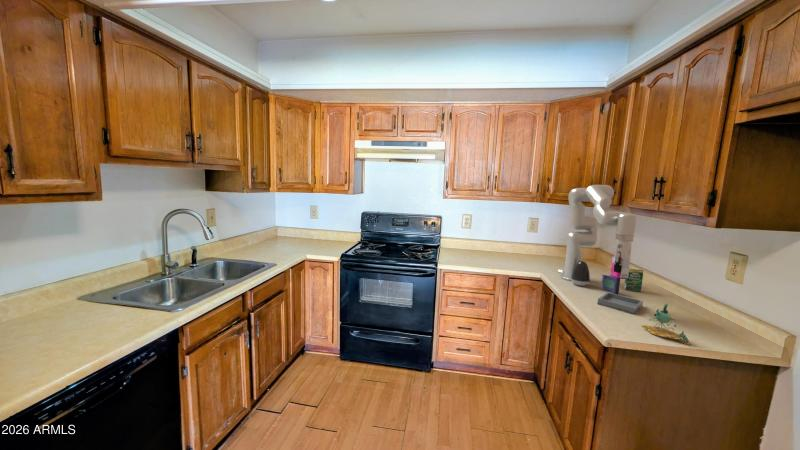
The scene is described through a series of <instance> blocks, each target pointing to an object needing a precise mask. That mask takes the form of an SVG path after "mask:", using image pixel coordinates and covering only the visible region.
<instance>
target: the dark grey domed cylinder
mask: <svg viewBox="0 0 800 450" xmlns="http://www.w3.org/2000/svg"><path fill="white" fill-rule="evenodd" d="M590 275H591V273H590V268H589V266H588V264H587V262H586V261H584V260H582V261H580V260H579V262H578V263H577V264H576V265H575V267H574V269H573V272H572V275H571V278H572V281H571V282H572V283H573V284H574V285H576V286H579V287H585V286H587V285H588V284H589V282H590V280H591V276H590Z"/></svg>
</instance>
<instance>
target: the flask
mask: <svg viewBox="0 0 800 450" xmlns="http://www.w3.org/2000/svg"><path fill="white" fill-rule="evenodd" d="M601 278H602V279H601V282H600V283H601V285H600V290H602V291H604V292H606V293H607V292H609V293H610V292H611V293H613V294H617V295H619V293H620V284H621V279H616V278H614V277H612V276H610V274H607V273H602V277H601Z"/></svg>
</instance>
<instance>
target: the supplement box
mask: <svg viewBox="0 0 800 450" xmlns="http://www.w3.org/2000/svg"><path fill="white" fill-rule="evenodd" d="M611 255H612V258H611V265H610V273H609V275H610V276H612V277H614V278H616V279H620V280H625V279H628V275H629V269H630V267H631V266H630V265H631V256H630V257H628V259H627V260H626V261H624V260H623V261H622V264H621V265H622V269H621V273H618V272H614V263H615V258H614V256H615V254H611ZM619 259H622V258H621V257H620V258H619Z"/></svg>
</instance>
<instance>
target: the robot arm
mask: <svg viewBox="0 0 800 450" xmlns="http://www.w3.org/2000/svg"><path fill="white" fill-rule="evenodd" d="M569 191H570V192H569V193H568V197H567V198H568V204H569V228H571V229H572V230H580V231H570V232H568V233H567V235H566V237H565V241H566V251H565V253H566V254H565V259H564V260H565V262H564V269H559V268H558V270H557V273H558V274H561V275H560V277H561V278H562V279H564V280H565V281H566V280H567V281H571V282H572V278H571V275H572V272H573V269H574V267H575V265H576V264H577V263H578V262H579V260H580V261H583V253H584V252H583V251H582V248H581V247H586V248H587V247H588V248H589V247H594V246H595V245H596V243H597V239H598V224H599V225H601V226H604V227H605V226H606V227H609V226H611V227H616V232H615V236H614V237H615V238H614V240H615V241H616V244H615V249H614V250H615V251H614V255H615V256H614V258H615V263H614V272H618V273H621V269H622V265H621V264H622V261H623V260H624V261H626V260H627V259H628V257H630V258H631V254H632V243H633V242H634V237H635V236H634V235H635V229H636V223H637V216H636V215H635V214H634V213H633V214H632V213H627V212H624V211H605V210H606V209H608V208H609V207H610V206H611V205H612V202H613V201H612V198H613V197H614V194H615V190H614V188H613V187H612V186H610V185H608V184H592V185H589V186H587V187H576V188H573V189H571V190H569ZM583 202H587V203H588V202H589V203H590V202H591V203H592V204H593V208H592V209H593V210H592V212H593V213H592V214H593V215H588V214H586V207H585V205H584V204H583ZM583 230H584V231H583ZM620 257H621V258H622V259H619V258H620Z"/></svg>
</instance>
